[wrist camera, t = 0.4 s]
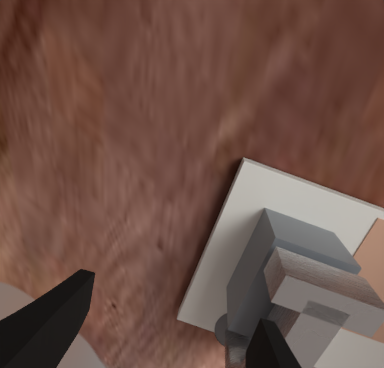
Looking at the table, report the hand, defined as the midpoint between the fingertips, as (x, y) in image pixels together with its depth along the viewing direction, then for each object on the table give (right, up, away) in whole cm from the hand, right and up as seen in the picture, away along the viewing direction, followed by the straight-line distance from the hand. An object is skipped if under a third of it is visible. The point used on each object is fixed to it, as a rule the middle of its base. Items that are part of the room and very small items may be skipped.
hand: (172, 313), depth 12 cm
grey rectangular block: (+7, 0, +8) cm, 11 cm away
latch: (+6, -3, +9) cm, 11 cm away
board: (+10, -2, +10) cm, 14 cm away
